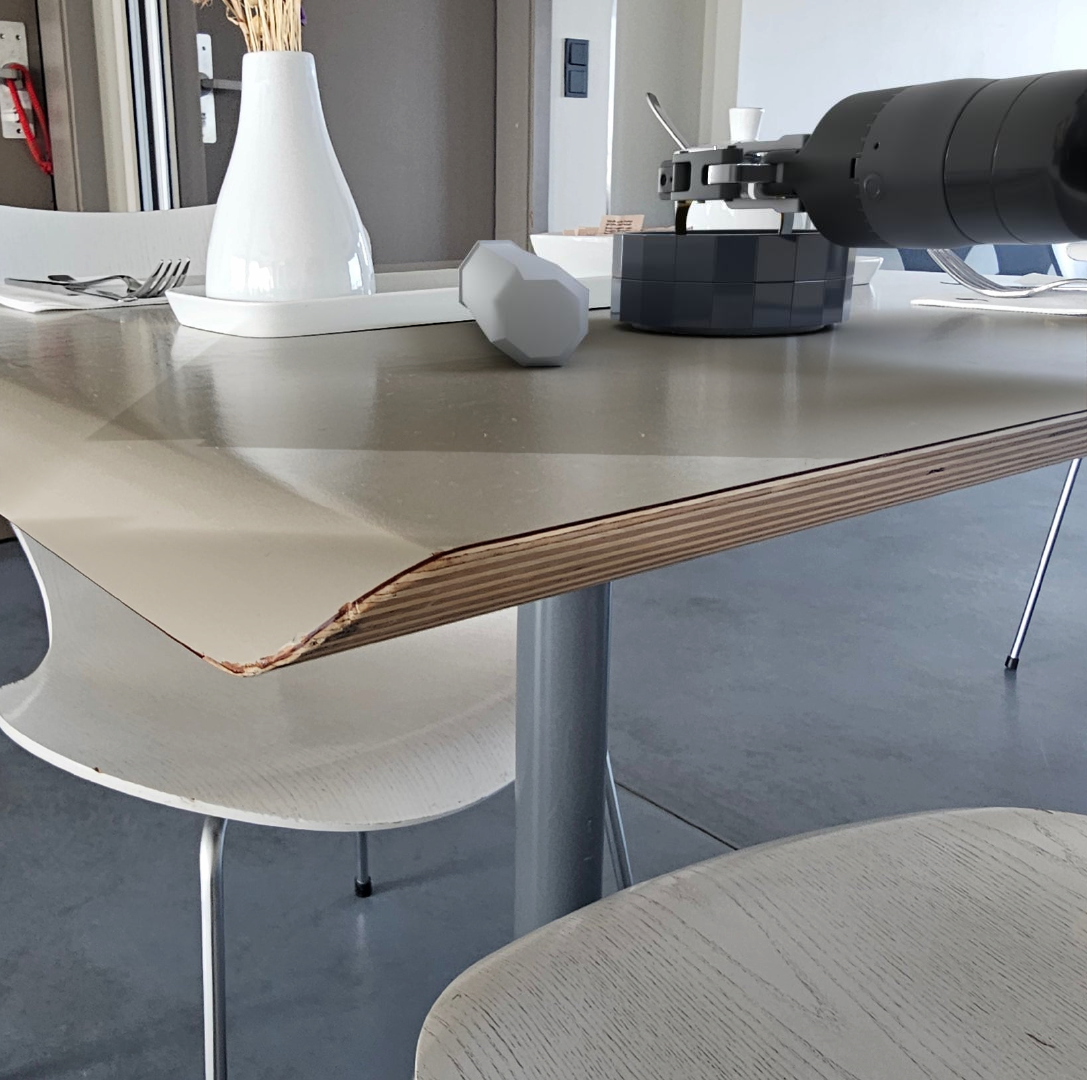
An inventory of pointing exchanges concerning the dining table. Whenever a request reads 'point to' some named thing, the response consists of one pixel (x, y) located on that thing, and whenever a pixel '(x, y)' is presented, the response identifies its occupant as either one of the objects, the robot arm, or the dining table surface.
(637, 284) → the bowl
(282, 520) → the dining table surface
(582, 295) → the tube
